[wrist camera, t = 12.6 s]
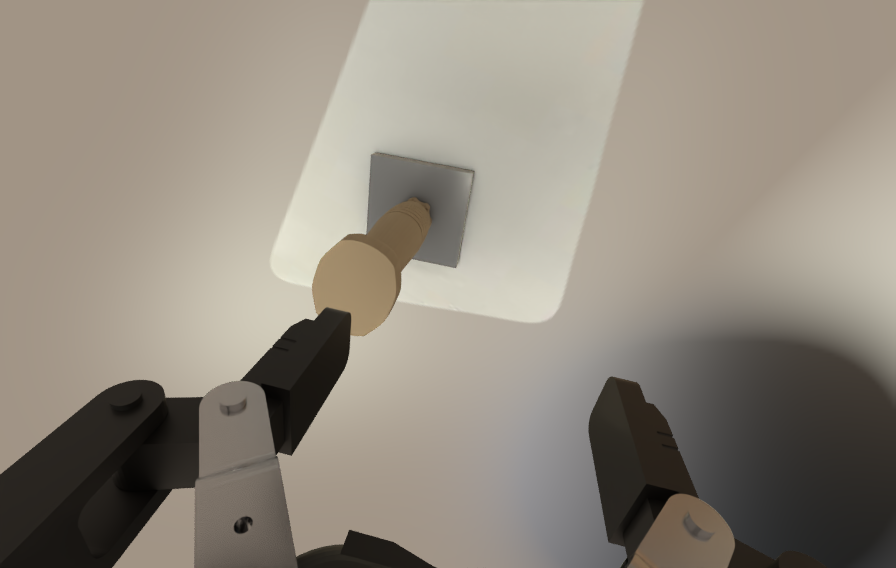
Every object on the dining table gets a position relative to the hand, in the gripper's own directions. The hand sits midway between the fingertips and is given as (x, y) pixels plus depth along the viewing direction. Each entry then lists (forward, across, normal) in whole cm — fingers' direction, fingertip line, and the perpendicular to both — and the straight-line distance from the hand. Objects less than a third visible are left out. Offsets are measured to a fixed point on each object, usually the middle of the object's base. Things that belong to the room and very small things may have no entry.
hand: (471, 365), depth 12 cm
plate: (+26, +7, +5) cm, 27 cm away
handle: (+25, +7, +4) cm, 26 cm away
